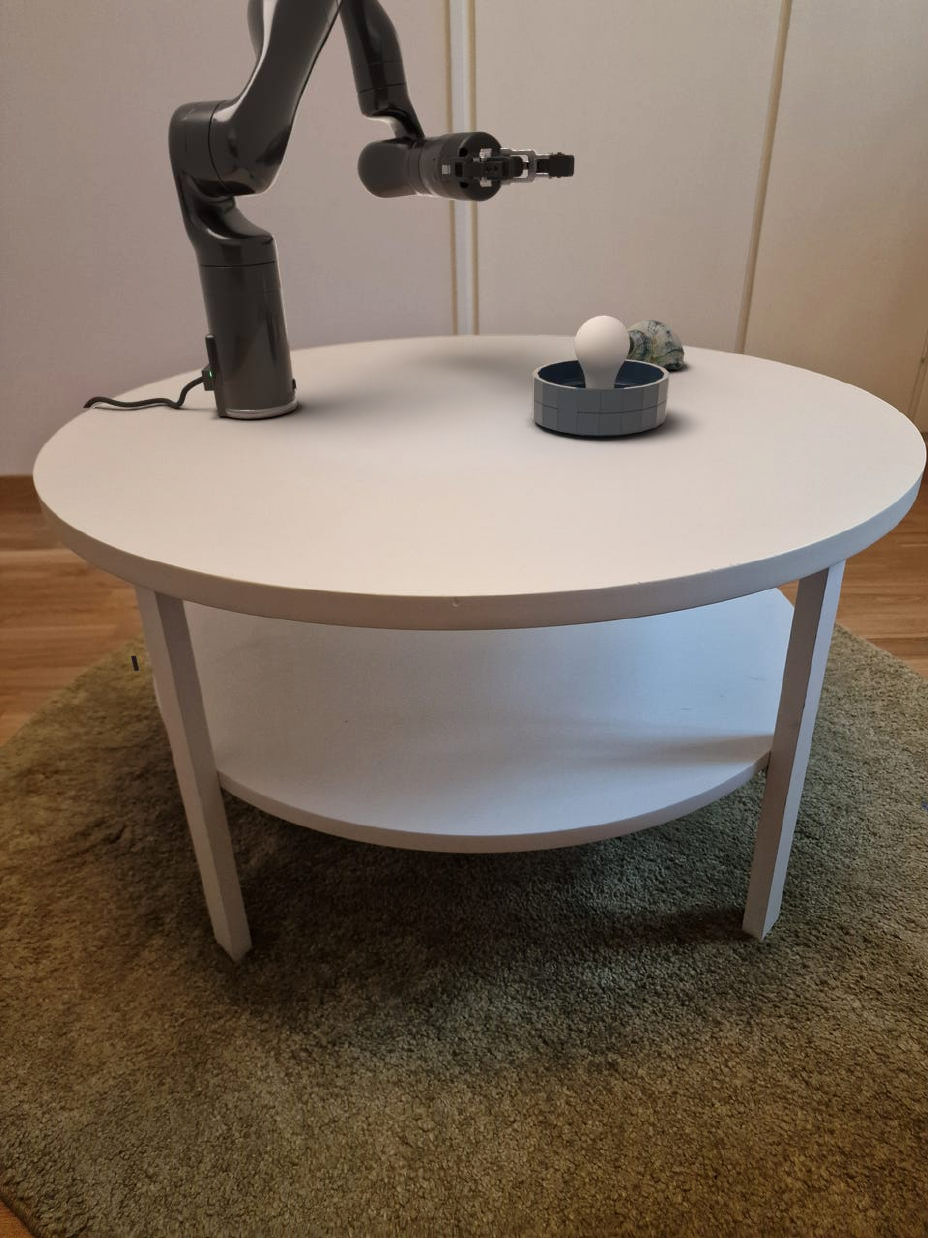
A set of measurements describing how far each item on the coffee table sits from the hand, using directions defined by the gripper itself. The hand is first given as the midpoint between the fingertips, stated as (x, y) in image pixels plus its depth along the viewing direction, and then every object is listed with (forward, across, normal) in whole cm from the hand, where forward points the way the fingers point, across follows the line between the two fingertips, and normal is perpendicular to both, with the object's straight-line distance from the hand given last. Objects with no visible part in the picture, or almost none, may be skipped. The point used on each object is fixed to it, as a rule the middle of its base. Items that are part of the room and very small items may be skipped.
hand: (542, 167), depth 94 cm
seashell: (-4, +23, +26) cm, 35 cm away
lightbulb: (+11, 0, +26) cm, 28 cm away
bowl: (+11, 0, +26) cm, 28 cm away
